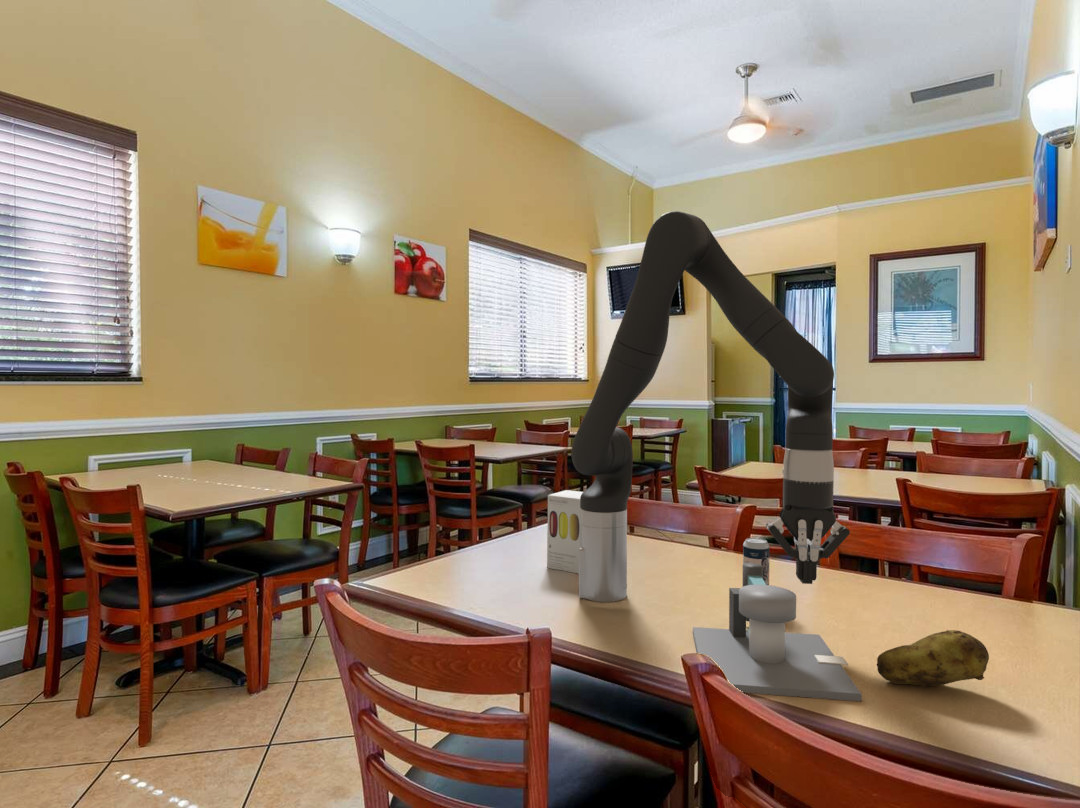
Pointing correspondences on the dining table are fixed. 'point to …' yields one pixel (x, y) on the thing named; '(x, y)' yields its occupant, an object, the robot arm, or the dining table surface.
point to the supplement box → (564, 531)
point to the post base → (778, 674)
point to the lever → (764, 598)
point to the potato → (935, 660)
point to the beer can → (757, 554)
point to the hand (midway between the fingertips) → (806, 582)
